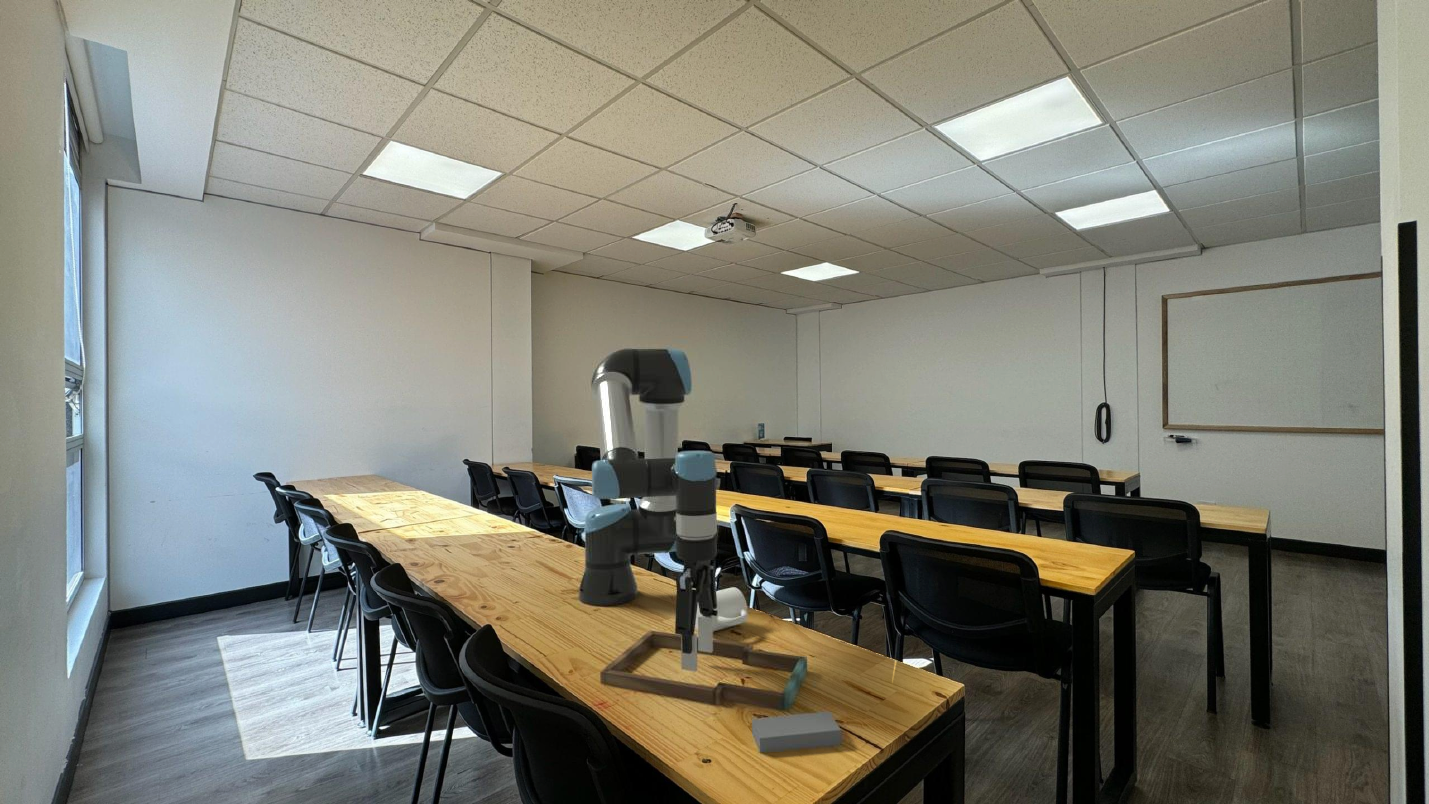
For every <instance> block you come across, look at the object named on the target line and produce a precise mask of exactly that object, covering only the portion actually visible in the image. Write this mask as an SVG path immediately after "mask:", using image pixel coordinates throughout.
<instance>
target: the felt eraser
mask: <svg viewBox="0 0 1429 804" xmlns="http://www.w3.org/2000/svg"><path fill="white" fill-rule="evenodd" d="M751 734H752V737H753V739H754V742H755V744H756V747H757V749H758V752H759V753H760V754H763V753H764V754H765V753H773V752H774V753H775V752H785V751H794V750H806V749H817V748H826V747H827V748H828V747H839V746H842V729H841V728H840V726H839V724H838V723H837V721H836V720H835V718H834V717H833V715H832V714H831V712H830V711H829V710H827V711H819V712H810V713H807V712H806V713H799V714H787V715H778V716H770V717H768V716H767V717H757V718H752V719H751Z"/></svg>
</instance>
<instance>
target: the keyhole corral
mask: <svg viewBox="0 0 1429 804" xmlns="http://www.w3.org/2000/svg"><path fill="white" fill-rule="evenodd" d="M652 646H655V647H660V648H667V649H673V650H680V651H681V635H680V634H676V633H670V632H662V631H657V630H656V631H655V630H648V632H646V633H645V634H643V635H642V636H641V637H640V638H639V639H637V641H635V642H634V643H633V644H631V646H629V647H628V648H627V649H626V650H624V651H623V652H622V653H621V654H620V655H619V656H618V657H616V658H615V659H614V660H612V661H611V662H610V663H608V665H606V666H605V667H604V668H603V669H602V670H600V674H599V675H600V677H599V678H600V680H599V681H600V684H602V685H608V686H613V687H619V688H625V689H629V690H634V691H639V692H647V693H652V694H657V695H662V696H665V697H666V696H667V697H672V698H677V699H683V700H688V701H694V702H697V703H698V702H700V703H705V704H710V705H715V706H721V705H722V703H723V701H728V702H734V703H739V704H744V705H749V706H754V707H755V706H756V707H760V708H761V707H762V708H767V709H771V710H772V709H773V710H777V711H782V712H783V711H784V712H789V711H790V709H791V707H792V705H793V703H794V701H795V698H796V696H797V693H798V692H799V689H800V688H801V685H802V683H803V681H804V678H805V677H806V674H807V671H808V657H806V656H801V655H795V654H794V655H793V654H788V653H787V654H786V653H779V652H772V651H766V650H758V649H754V644H749V643H741V642H734V641H726V640H722V639H720V640H719V639H714V638H713V652H712V653H710V652H703V651H698V636H697V653H700V654H707V655H714V656H719V657H726V658H733V659H738V660H739V659H740V660H741V663H742V665H747V666H752V667H753V666H754V667H762V668H766V669H767V668H768V669H774V670H779V671H780V670H781V671H785V672H786V671H787V672H792V673H791V675H790V677H789V679H788V681H787V683H786V684H785V688H784V689H783V691H781V692H780V691H775V690H769V689H761V688H757V687H752V686H751V687H750V686H745V685H739V684H734V683H733V684H732V683H726V682H720V681H719V682H718V683H717V684H716V685H715V687H713V686H707V685H703V684H697V683H690V682H684V681H679V680H678V681H677V680H673V679H672V680H671V679H666V678H661V677H654V676H648V675H644V674H643V675H642V674H638V673H632V672H631V673H630V672H626V671H624V670H625V669H626V668H627V667H629V666H630V665H631V664H632V663H634V662H635V661H636V660H637V659H638V658H640V657H641V656H642V655H643V654H645V652H646V651H648V650H649V649H650V648H651V647H652Z"/></svg>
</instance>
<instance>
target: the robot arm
mask: <svg viewBox="0 0 1429 804" xmlns="http://www.w3.org/2000/svg"><path fill="white" fill-rule="evenodd" d="M590 382H591V383H590V384H591V394H592V396H593V398H594V399H595V400H596V409H597V423H598V437H599V451H600V454H599V455H600V460H595V461H593V462H592V465H591V482H592V483H591V486H592V488H591V489H592V495H593V497H594V498H596V499H598V500H618V499H619V500H620V499H634V498H641V499H640V500H639V501H638V509H632V508H631V506H630V504H626V503H621V504H619V503H615V504H609V505H604V506H601V507H597V508H593V509H592V510H590V511H588V512H587V514H586V515H585V518H584V519H585V520H584V529H583V531H584V533H585V535H584V541H585V542H584V545H585V546H584V549H585V550H584V551H585V552H584V554H585V555H584V558H585V559H584V560H585V561H584V562H585V563H584V566H585V567H584V572H583V575H582V578H581V582H580V585H579V587H578V600H579V602H580V603H582V604H584V605H587V604H588V606H593V607H608V606H618V605H623V604H625V603H629V602H630V601H634V600H635V599H636V598H637V597H638V592H639V591H638V583H637V581H636V579H635V577H636V576H635V575H634V572H633V570H632V569H633V568H632V565H631V556H634V555H647V554H648V555H651V554H663V553H664V554H668V553H671V552H675V555H676V557H677V558H678V559H679V560H681V561H683V563H684V564H683V569H682V576H681V575H677V576H676V578H675V584H676V585H675V586H676V600H675V601H676V603H675V624H674V625H675V626H674V628H675V629H674V632H675V633H674V634H678V635H681V650H680V651H681V652H680V653H681V655H680V656H681V658H680V659H681V660H680V661H681V662H680V663H681V665H680V666H681V667H680V668H681V670H684V671H689V672H690V671H692V672H697V671H698V652H697V637H698V651H703V652H710V653H712V652H713V639H714V631H713V617H711V616H717V613H718V611H717V610H714V609H716V608H717V597H716V591H717V585H716V584H717V583H716V559H715V558H716V557H717V554H718V547H717V546H718V545H717V544H718V538H717V536H716V534H717V533H718V522H717V520H718V518H717V517H718V515H717V474H718V471H717V469H718V468H717V465H716V463H717V462H716V456H715V454H714V452H712V451H710V450H709V451H708V450H684V451H683V450H682V451H679V452H678V449H679V445H678V443H679V439H678V438H679V408H680V407H682V405H683V404H684V403H685V396H688V395H690V394H691V392H692V386H693V385H692V372H691V366H690V363H689V359H688V357H687V355H686V353H685V352H684V351H683V350H681V349H673V348H672V349H670V348H622V349H618V350H616V351H614V352H612V353H610V354H608V355H607V356H605V358H604V359H602V360H601V362H600V363H599V364H598V365H597V366H596V368H595V370H594V371H593V374H592V378H591V381H590ZM631 395H632V396H638V399H639V400H638V401H639V403H640V404H641V405H642V406H643V407H644V458H639V453H638V448H637V447H638V446H637V441H636V434H635V428H634V419H633V413H632V407H631V401H630V397H631ZM698 604H699V610H700V614H702V616H701V615H699V616H698V630H697V632H695V629H696V627H695V623H696V614H697V606H698Z"/></svg>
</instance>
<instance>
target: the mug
mask: <svg viewBox="0 0 1429 804" xmlns="http://www.w3.org/2000/svg"><path fill="white" fill-rule="evenodd" d="M716 597H717V608H716V609H714V610H717V611H718V613H717V616H711V617H713V632H717V631H720V630H724V629H728V628H730V627H734V626H738V625H741V624H743V623H745V622H746V620H748V617H749V615H748V605H747V601H746V598H745V596H744V594H743V592H742V591H741V590H740V589H739V588H737V587H735V586H734V587H733V586H732V587H729V588H723V589H720V590H716ZM699 615H701V616H702V614H700V610H699V604H698V606H697V614H696V623H695V629H696V630H697V631H698V616H699Z"/></svg>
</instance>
